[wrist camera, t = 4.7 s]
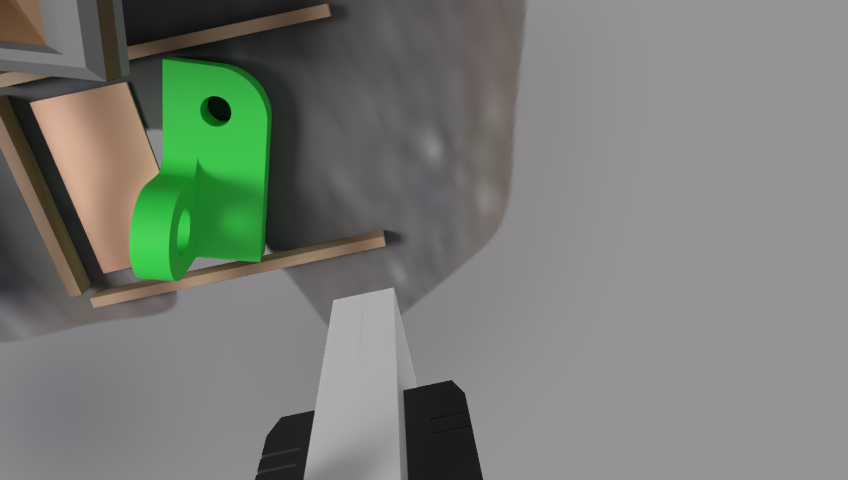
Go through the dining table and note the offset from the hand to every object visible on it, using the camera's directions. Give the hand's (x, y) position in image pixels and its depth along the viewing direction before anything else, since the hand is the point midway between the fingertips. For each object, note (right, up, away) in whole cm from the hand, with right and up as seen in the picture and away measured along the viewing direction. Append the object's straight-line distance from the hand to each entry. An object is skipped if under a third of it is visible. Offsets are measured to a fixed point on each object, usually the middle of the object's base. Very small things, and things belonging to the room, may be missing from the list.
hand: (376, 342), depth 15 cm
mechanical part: (-12, +8, +24) cm, 28 cm away
